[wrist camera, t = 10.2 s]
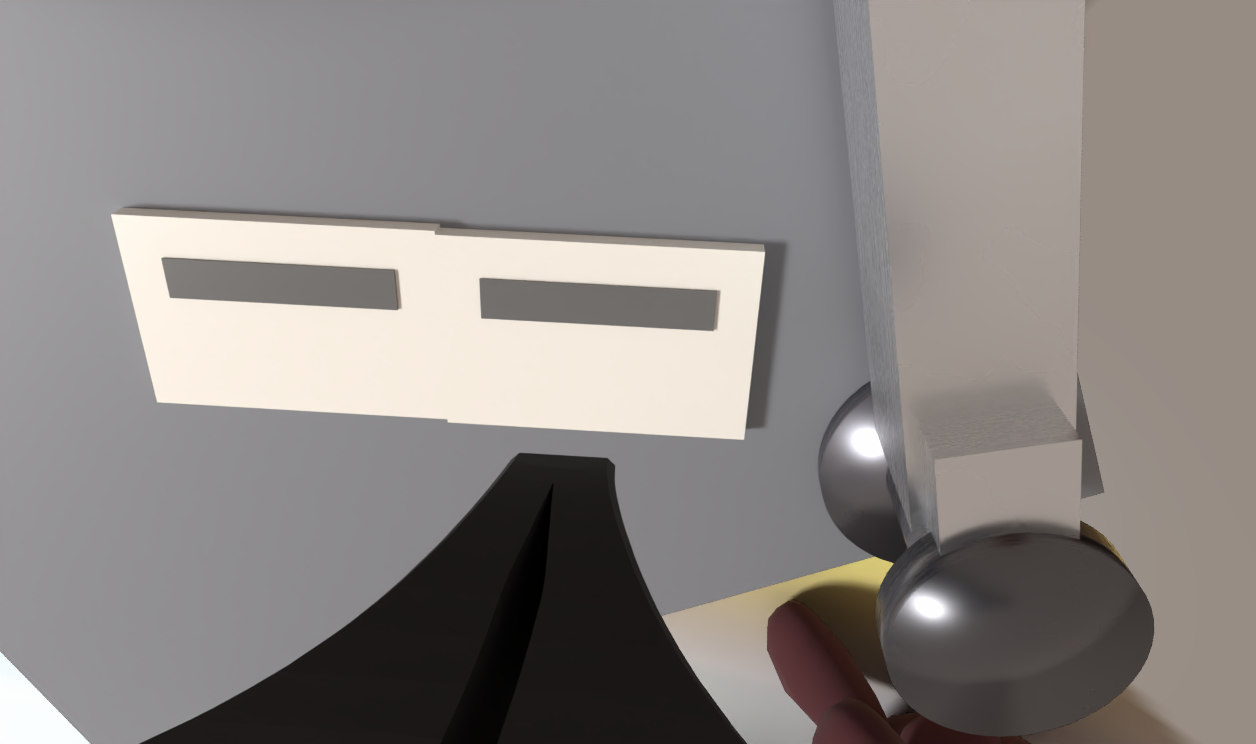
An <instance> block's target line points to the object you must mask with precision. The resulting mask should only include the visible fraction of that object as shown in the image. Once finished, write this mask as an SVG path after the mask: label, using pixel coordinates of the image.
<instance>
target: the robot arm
mask: <svg viewBox="0 0 1256 744" xmlns="http://www.w3.org/2000/svg"><path fill="white" fill-rule="evenodd" d="M139 744H747V743H746V742H745V740H744V739H743V738H742V737H741V736H740V734H739V733H738V732H737V731H736V730H735V728H734V727H733V726H732V724H731V723H730V722H729V720H728V719H727V717H726V716H725V715H724V713H723V712H722V711H721V709H720V708H719V707H718V705H717V704H716V702H715V701H714V700H713V698H712V697H711V696H710V694H709V693H708V692H707V690H706V689H705V687H704V686H703V685H702V683H701V682H700V681H699V679H698V678H697V676H696V675H695V673H694V671H693V670H692V668H691V667H690V665H689V663H688V662H687V660H686V659H685V657H684V655H683V654H682V652H681V651H680V649H679V647H678V645H677V644H676V642H675V640H674V638H673V637H672V635H671V633H670V631H669V630H668V628H667V626H666V624H665V622H664V620H663V618H662V616H661V615H660V613H659V611H658V609H657V606H656V604H655V602H654V600H653V598H652V596H651V594H650V592H649V589H648V587H647V585H646V583H645V580H644V578H643V576H642V573H641V571H640V569H639V566H638V564H637V561H636V558H635V556H634V553H633V550H632V547H631V544H630V541H629V538H628V536H627V533H626V530H625V526H624V523H623V520H622V516H621V512H620V508H619V504H618V499H617V494H616V487H615V465H614V464H613V463H612V462H611V461H610V460H609V459H608V458H601V457H585V456H568V455H551V454H534V453H518V454H517V455H516V456H515V457H513V458H512V459H511V460H510V462H509V463H508V464H507V466H506V467H505V468H504V469H503V471H502V472H501V473H500V475H499V476H498V477H497V478H496V480H495V481H494V482H493V483H492V485H491V486H490V487H489V488H488V490H487V491H486V492H485V493H484V494H483V495H482V497H481V498H480V499H479V500H478V501H477V502H476V504H475V505H474V506H473V507H472V508H471V509H470V511H469V512H468V513H467V514H466V515H465V516H464V517H463V518H462V519H461V520H460V521H459V523H458V524H457V525H456V526H455V527H454V528H453V529H452V530H451V531H450V532H449V533H448V535H447V536H446V537H445V538H444V539H443V540H442V541H441V542H440V543H439V544H438V545H437V546H436V547H435V548H434V549H433V550H432V551H431V552H430V553H429V554H428V555H427V556H426V557H425V558H423V559H422V560H421V561H420V562H419V563H418V564H417V565H416V566H415V567H414V568H413V569H412V570H411V571H410V572H409V573H408V574H407V575H406V576H405V577H404V578H403V579H401V580H400V581H399V582H398V583H397V584H396V585H395V586H394V587H392V588H391V589H390V590H389V591H388V592H387V593H386V594H384V595H383V596H382V597H381V598H380V599H378V600H377V601H376V602H375V603H374V604H372V605H371V606H370V607H369V608H367V609H366V610H365V611H364V612H362V613H361V614H360V615H359V616H357V617H356V618H355V619H354V620H352V621H351V622H350V623H348V624H347V625H346V626H344V627H343V628H342V629H340V630H339V631H337V632H336V633H335V634H333V635H332V636H330V637H329V638H327V639H326V640H325V641H323V642H322V643H320V644H319V645H317V646H316V647H314V648H313V649H311V650H310V651H308V652H307V653H305V654H304V655H302V656H301V657H299V658H298V659H296V660H295V661H293V662H292V663H290V664H289V665H287V666H286V667H284V668H282V669H281V670H279V671H278V672H276V673H274V674H272V675H271V676H269V677H267V678H266V679H264V680H262V681H261V682H259V683H257V684H255V685H254V686H252V687H250V688H249V689H247V690H245V691H243V692H241V693H240V694H238V695H236V696H234V697H232V698H230V699H229V700H227V701H225V702H223V703H221V704H219V705H218V706H216V707H214V708H212V709H210V710H208V711H206V712H204V713H202V714H200V715H198V716H196V717H194V718H193V719H191V720H188V721H186V722H184V723H182V724H180V725H178V726H176V727H173V728H171V729H169V730H167V731H165V732H163V733H161V734H159V735H156V736H154V737H152V738H150V739H148V740H146V741H144V742H141V743H139Z"/></svg>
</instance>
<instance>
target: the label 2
mask: <svg viewBox="0 0 1256 744" xmlns="http://www.w3.org/2000/svg"><path fill="white" fill-rule="evenodd" d="M435 245H436V260H437V274H438V288H439V302H440V316H441V330H442V344H443V359H444V373H445V387H446V401H447V415H448V419H447V420H448V422H449V423H466V424H483V425H500V426H517V427H534V428H551V429H568V430H585V431H602V432H619V433H636V434H653V435H670V436H687V437H704V438H721V439H738V440H744V436H745V427H746V418H747V409H748V400H749V391H750V383H751V374H752V365H753V356H754V347H755V338H756V329H757V320H758V311H759V302H760V293H761V284H762V276H763V267H764V258H765V249H764V244H749V243H730V242H710V241H691V240H672V239H652V238H633V237H613V236H594V235H575V234H555V233H536V232H516V231H497V230H478V229H458V228H439V230H438V231H437V232H436V234H435Z"/></svg>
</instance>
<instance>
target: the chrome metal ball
mask: <svg viewBox="0 0 1256 744" xmlns="http://www.w3.org/2000/svg"><path fill="white" fill-rule="evenodd" d="M818 477H819V483H820V488H821V492H822V497H823V500H824V503H825V507H826V509H827V511H828V513H829V515H830V517H831V519H832V521H833V522H834V524H835V525H836V527H837V528H838V529H839V531H840V532H841V533H842V534H843V535H844V536H845V537H846V538H847V539H848V540H850V541H851V542H852V543H853V544H855V545H856V546H857V547H859V548H860V549H862V550H864V551H865V552H867V553H869V554H871V555H873V556H875V557H878V558H880V559H882V560H886V561H889V562H892V563H895V561H896V560H897V559H898V558H899V557H900V556H901V555H902V554H903V553H904V552H905V551H906V550H907V549H908V548H909V547H910V546H912V545H913V544H914V543H915V542H916V541H917V540H919V539H920V538H922V537H923V536H925V535H926V534H928V531H924V532H916V533H911V530H910V527H909V524H908V521H907V518H906V515H905V513H904V510H903V507H902V504H901V501H900V498H899V495H898V492H897V490H896V487H895V484H894V481H893V478H892V475H891V472H890V470H889V467H888V464H887V461H886V458H885V455H884V452H883V449H882V447H881V444H880V441H879V438H878V435H877V432H876V429H875V422H874V411H873V401H872V391H871V381H869V382H868V383H866V384H865V385H863V386H862V387H860V388H859V389H858V390H857V391H856V392H855V393H853V394H852V395H851V396H850V397H849V398H848V399H847V400H846V401H845V402H844V403H843V405H842V406H841V407H840V408H839V409H838V411H837V412H836V414H835V415H834V416H833V418H832V419H831V421H830V423H829V425H828V427H827V429H826V431H825V433H824V436H823V439H822V441H821V444H820V449H819V455H818Z"/></svg>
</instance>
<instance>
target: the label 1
mask: <svg viewBox="0 0 1256 744" xmlns="http://www.w3.org/2000/svg"><path fill="white" fill-rule="evenodd" d="M111 217H112V221H113V225H114V229H115V233H116V237H117V241H118V245H119V249H120V253H121V257H122V261H123V266H124V270H125V274H126V278H127V282H128V286H129V290H130V294H131V298H132V302H133V306H134V310H135V314H136V318H137V322H138V326H139V331H140V335H141V339H142V343H143V347H144V351H145V355H146V359H147V363H148V367H149V371H150V375H151V379H152V383H153V387H154V391H155V396H156V400H157V402H160V403H178V404H195V405H212V406H229V407H246V408H263V409H280V410H297V411H314V412H331V413H348V414H365V415H382V416H399V417H417V418H434V419H448V415H447V401H446V387H445V373H444V359H443V344H442V330H441V316H440V302H439V288H438V274H437V260H436V245H435V234H436V232H437V231H438V230H439V228H440V224H435V223H416V222H396V221H377V220H357V219H338V218H318V217H299V216H279V215H260V214H240V213H221V212H202V211H182V210H163V209H143V208H124V207H123V208H121V209H119V210H117V211H116V212H114V213H112V214H111Z"/></svg>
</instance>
